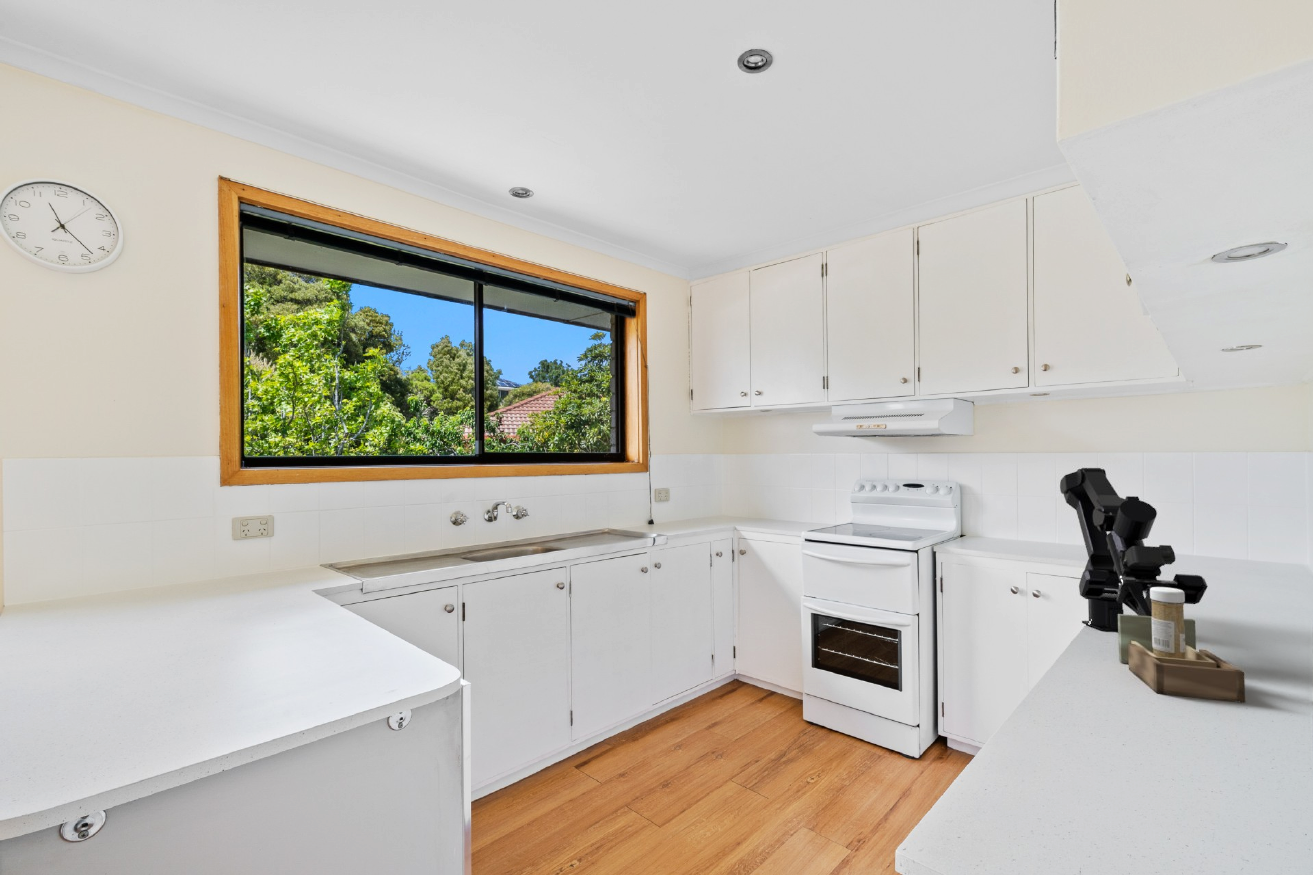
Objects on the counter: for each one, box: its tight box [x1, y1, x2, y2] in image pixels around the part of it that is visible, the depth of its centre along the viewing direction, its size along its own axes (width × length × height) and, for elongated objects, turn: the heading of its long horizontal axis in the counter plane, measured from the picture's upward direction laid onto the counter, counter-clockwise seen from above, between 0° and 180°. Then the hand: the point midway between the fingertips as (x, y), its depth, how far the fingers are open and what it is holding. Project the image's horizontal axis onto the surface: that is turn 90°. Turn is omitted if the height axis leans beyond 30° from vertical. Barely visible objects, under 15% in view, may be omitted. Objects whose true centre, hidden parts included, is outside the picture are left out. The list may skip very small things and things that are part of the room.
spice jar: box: [1150, 587, 1186, 659], centre depth 107 cm, size 5×5×14 cm
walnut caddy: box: [1128, 644, 1246, 703], centre depth 103 cm, size 12×11×4 cm
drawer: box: [1117, 613, 1217, 668], centre depth 108 cm, size 12×11×8 cm
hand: (1153, 625), depth 114 cm, fingers closed, pressing on drawer
